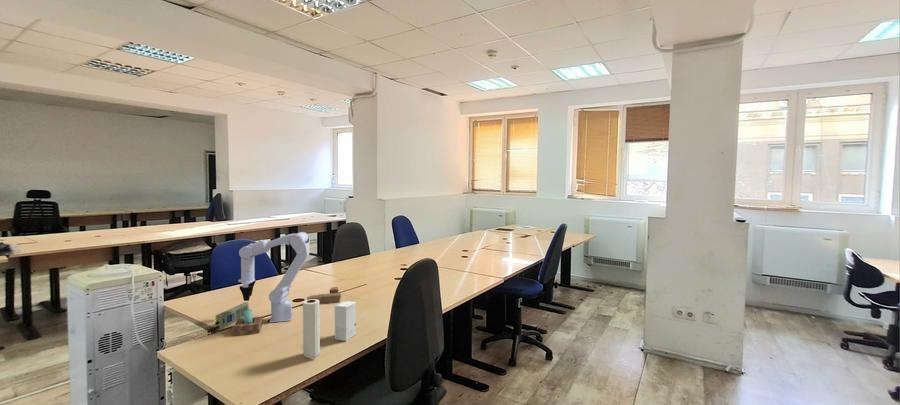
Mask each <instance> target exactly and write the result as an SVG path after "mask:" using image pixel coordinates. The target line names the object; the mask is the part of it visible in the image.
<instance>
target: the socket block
mask: <svg viewBox="0 0 900 405" xmlns="http://www.w3.org/2000/svg"><path fill="white" fill-rule="evenodd" d="M262 326H263V316H255V317H253V316H252V323H247V324H244V318H242V319H238V320H237V321H236V322H234V324H233V336H234V337H235V336H244V335H254V334H260V332H261V330H262Z"/></svg>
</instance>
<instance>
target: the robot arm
mask: <svg viewBox="0 0 900 405" xmlns="http://www.w3.org/2000/svg"><path fill="white" fill-rule="evenodd" d="M283 244H285V245H287V246H289V245H290V246H291V247H292V249H293V250H294V251H295V254H296V255H295V257H294V258H293V261H292V262H291V263H290V265H289V267H288V269H287V270H286V272H285V274H284V275H283V276H282V278H281V280H280V282H279V283H278V284H277V285H276V286H275V288H274V289H273V290H272V291H270V292H269V294H268V299H269V301H270V305H271V306H270V308H271V309H270V311H271V312H270V313H271V314H270V319H269V323H278V322H290V321H292V317H293V301H292V300H289V299H288V295H289V294H290V288H291V287H292V286H291V285H292V283H293V281H295V278H296V277H297V275H298V273H299V272H300V271H301V269H302V267H303V265H304V264H305V262H307V261H306V260H307V259H308V258H309V256H310V244H311V239H310V237H309V235H308V233H307V232H305V231H299V232H296V233H289V234H286V235H283V236H281V237H278V238H274V239H272V240H269V241H268V240H266V239H260V240H258V241H257V242H254V243H249V244H248V245H246V246H243V247H241V248H240V249H239V251H238V255H239V257H240V278H238V280H237V281H238V283H239V282H240V283H241V284H242V285H239V290H240V292H241V295H242V299H243V301H244V302H248V301H250V298H251V296H252V295H253V290H254V286H255V284H256V278H255V256H258V255H261V254H264V253H266V252H270V250H271V248H274V247H277V246H280V245H283Z"/></svg>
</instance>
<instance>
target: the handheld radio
mask: <svg viewBox="0 0 900 405" xmlns="http://www.w3.org/2000/svg"><path fill="white" fill-rule="evenodd" d="M248 309H250V308H249V302H248V301H244V302H243V303H241V304H238V305H236V306H234V307H232V308H230V309H226V310H225V311H223V312H220V313H218V314H216V315H215V316H214V317H215V322H214V325H216V326H214V327H212V328H210V329H208V330H207V333H208V334H210V333H212V332H214V331H216V330H222V329H224V328H226V327H228V326H231V325H233V324H235V323H236V322H237V320H238V319H242V318H244V310H248Z"/></svg>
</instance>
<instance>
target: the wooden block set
mask: <svg viewBox="0 0 900 405" xmlns="http://www.w3.org/2000/svg"><path fill="white" fill-rule="evenodd" d="M341 296H342V294H341V292H339V287H338V286H332V287H331V288H330V289H329V293H321V294H320V293H319V294H314V295H313V294H311V295H309V296H307V297H306V300H309V299H317V300H319V305H326V304H339V303H341V298H342V297H341Z"/></svg>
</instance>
